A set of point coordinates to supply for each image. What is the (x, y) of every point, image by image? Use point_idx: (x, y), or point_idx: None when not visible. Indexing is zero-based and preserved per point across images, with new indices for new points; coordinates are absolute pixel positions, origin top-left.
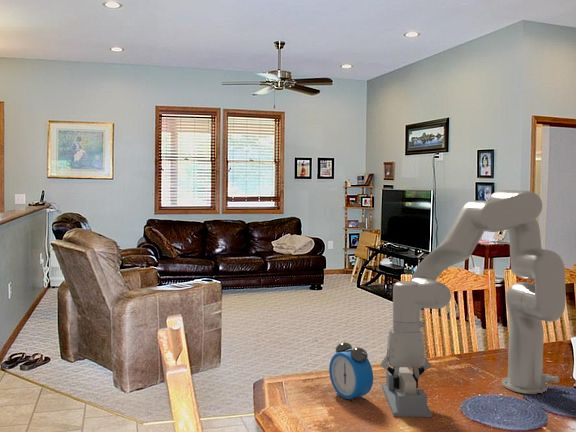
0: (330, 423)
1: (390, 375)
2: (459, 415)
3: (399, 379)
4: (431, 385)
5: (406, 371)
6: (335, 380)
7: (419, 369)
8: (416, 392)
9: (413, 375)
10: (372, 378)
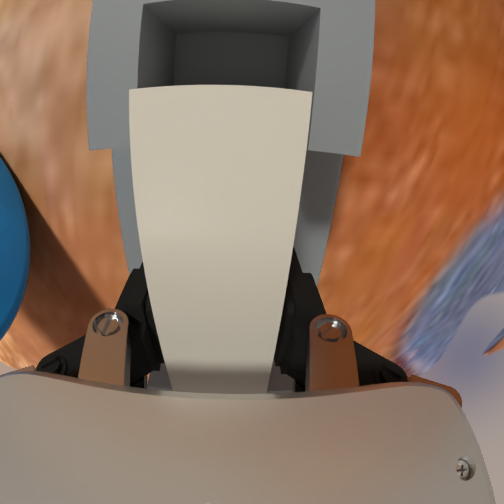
0: (20, 360)
1: (102, 146)
2: (386, 341)
3: (164, 361)
4: (439, 31)
5: (238, 336)
6: None
7: (365, 379)
8: (319, 164)
9: (288, 364)
10: (7, 330)
